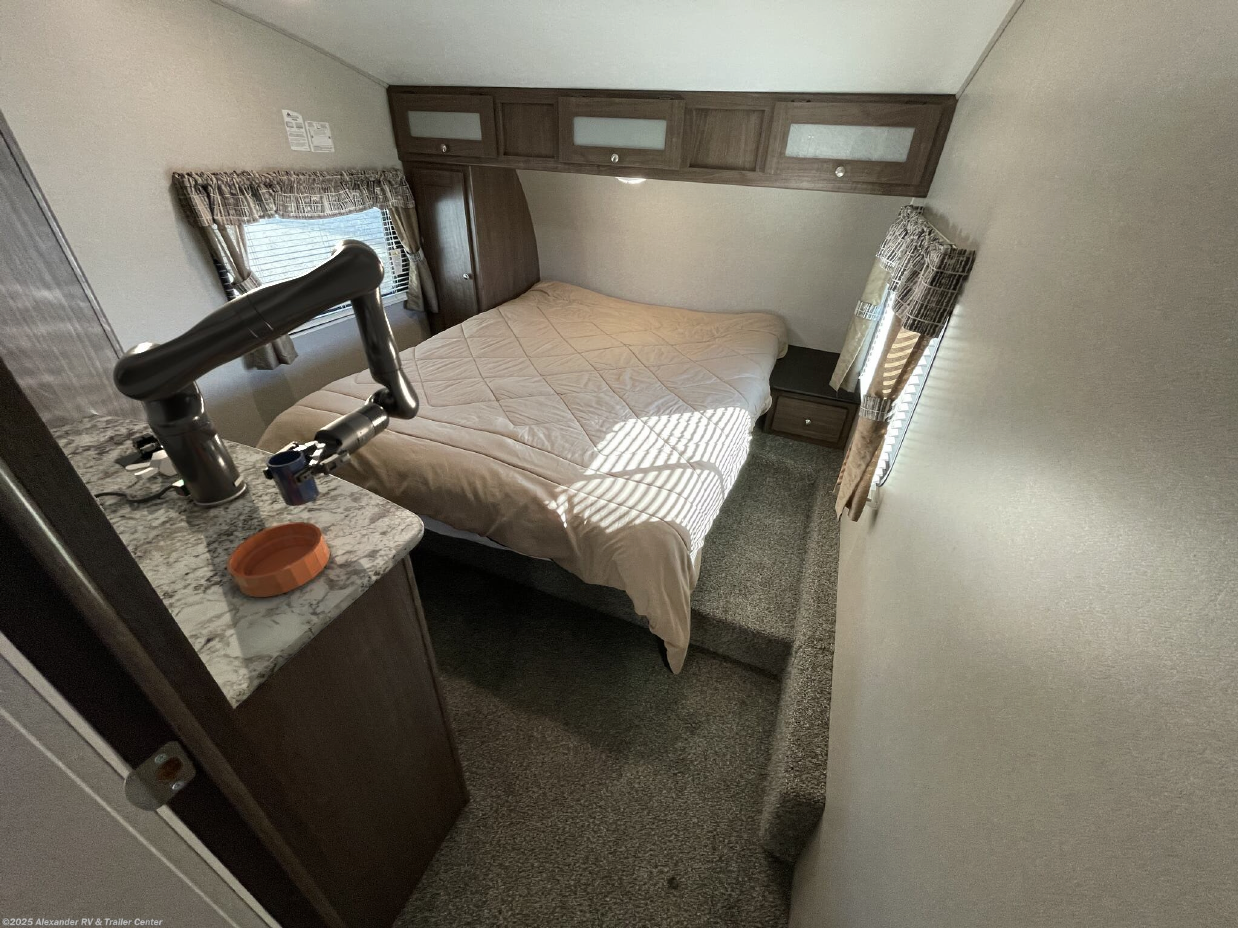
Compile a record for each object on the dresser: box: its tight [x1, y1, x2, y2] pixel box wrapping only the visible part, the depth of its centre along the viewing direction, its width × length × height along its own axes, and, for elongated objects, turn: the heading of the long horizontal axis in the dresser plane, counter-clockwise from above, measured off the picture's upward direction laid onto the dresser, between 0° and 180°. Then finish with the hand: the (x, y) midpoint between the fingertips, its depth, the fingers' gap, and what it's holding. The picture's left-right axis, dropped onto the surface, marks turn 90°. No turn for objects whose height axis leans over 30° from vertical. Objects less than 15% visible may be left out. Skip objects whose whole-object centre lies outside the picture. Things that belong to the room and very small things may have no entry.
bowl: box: [226, 521, 331, 598], centre depth 86 cm, size 14×14×5 cm
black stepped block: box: [114, 432, 164, 468], centre depth 122 cm, size 12×7×5 cm, turn 151°
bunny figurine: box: [125, 450, 178, 481], centre depth 115 cm, size 10×5×15 cm
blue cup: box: [265, 450, 320, 507], centre depth 93 cm, size 6×6×9 cm
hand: (280, 478), depth 90 cm, fingers closed on blue cup, 6 cm apart
